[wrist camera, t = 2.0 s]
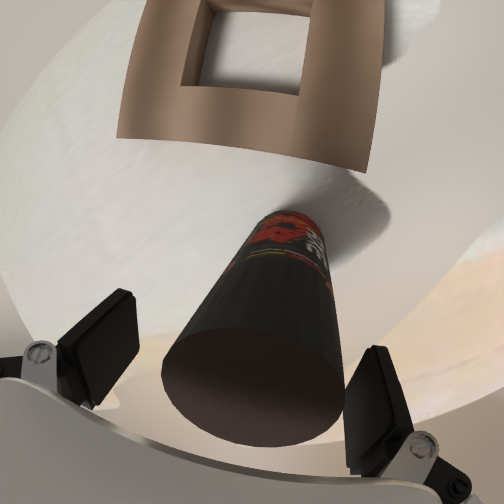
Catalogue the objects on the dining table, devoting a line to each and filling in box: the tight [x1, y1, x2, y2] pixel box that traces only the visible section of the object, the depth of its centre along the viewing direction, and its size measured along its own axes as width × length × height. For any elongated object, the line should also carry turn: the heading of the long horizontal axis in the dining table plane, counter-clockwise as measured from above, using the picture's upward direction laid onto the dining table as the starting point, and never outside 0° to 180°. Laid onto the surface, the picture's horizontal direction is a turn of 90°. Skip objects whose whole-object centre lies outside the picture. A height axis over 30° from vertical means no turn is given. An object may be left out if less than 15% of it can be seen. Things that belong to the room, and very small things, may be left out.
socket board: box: [116, 0, 385, 173], centre depth 15 cm, size 18×16×3 cm
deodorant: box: [161, 211, 345, 447], centre depth 15 cm, size 6×6×15 cm
